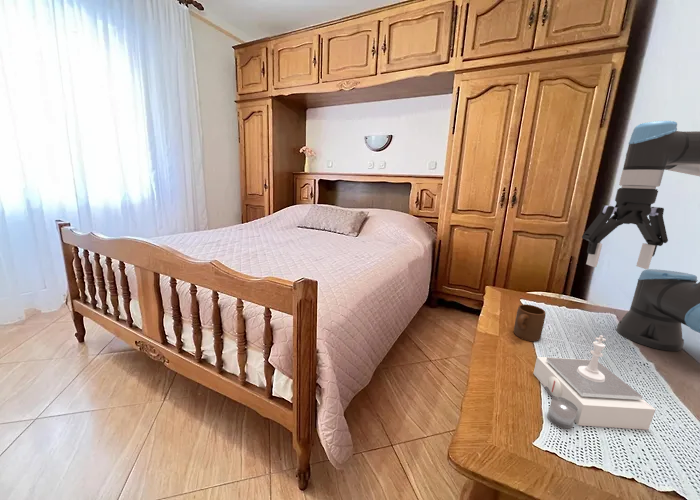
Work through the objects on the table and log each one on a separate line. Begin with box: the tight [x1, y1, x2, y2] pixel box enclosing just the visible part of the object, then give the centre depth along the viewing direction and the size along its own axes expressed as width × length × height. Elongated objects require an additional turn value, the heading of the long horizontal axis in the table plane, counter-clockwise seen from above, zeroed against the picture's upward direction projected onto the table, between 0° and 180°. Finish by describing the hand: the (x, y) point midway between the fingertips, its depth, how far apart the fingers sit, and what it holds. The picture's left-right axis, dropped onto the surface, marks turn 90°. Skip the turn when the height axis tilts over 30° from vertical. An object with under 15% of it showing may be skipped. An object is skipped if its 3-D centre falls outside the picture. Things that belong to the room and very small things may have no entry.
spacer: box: [547, 397, 578, 430], centre depth 59 cm, size 4×4×4 cm
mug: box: [513, 303, 547, 342], centre depth 90 cm, size 12×8×9 cm, turn 126°
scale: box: [533, 356, 656, 431], centre depth 66 cm, size 14×16×5 cm
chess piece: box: [577, 334, 607, 383], centre depth 64 cm, size 5×5×10 cm
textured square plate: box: [546, 357, 644, 400], centre depth 65 cm, size 12×12×1 cm
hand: (616, 266), depth 78 cm, fingers open, 13 cm apart
